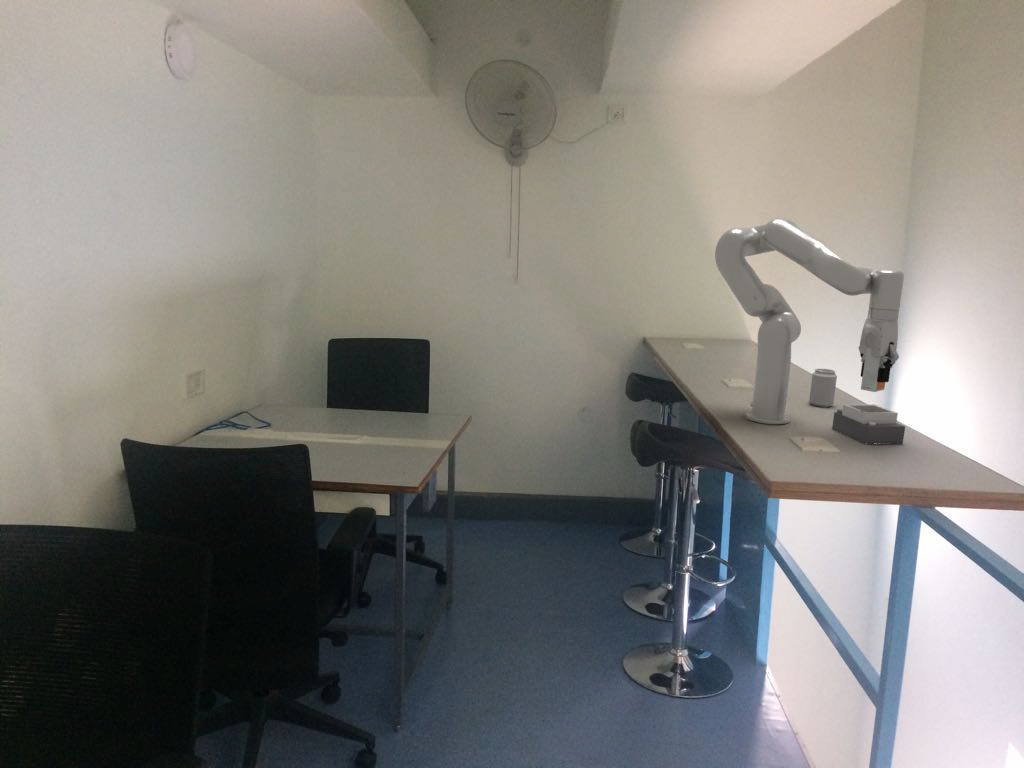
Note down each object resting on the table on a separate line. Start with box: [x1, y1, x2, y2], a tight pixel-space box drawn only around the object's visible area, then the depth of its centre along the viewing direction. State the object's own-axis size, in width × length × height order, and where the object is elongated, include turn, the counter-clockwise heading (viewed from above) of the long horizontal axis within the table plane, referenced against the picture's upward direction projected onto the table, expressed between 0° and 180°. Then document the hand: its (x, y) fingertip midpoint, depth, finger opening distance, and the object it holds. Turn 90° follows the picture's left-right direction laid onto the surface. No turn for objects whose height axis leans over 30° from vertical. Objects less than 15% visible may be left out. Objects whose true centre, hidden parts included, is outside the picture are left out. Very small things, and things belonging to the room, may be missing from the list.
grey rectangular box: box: [831, 403, 906, 445], centre depth 211 cm, size 16×11×8 cm
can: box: [808, 368, 838, 408], centre depth 248 cm, size 8×8×12 cm
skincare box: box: [860, 348, 887, 393], centre depth 208 cm, size 6×4×12 cm
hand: (874, 378), depth 208 cm, fingers closed on skincare box, 6 cm apart
